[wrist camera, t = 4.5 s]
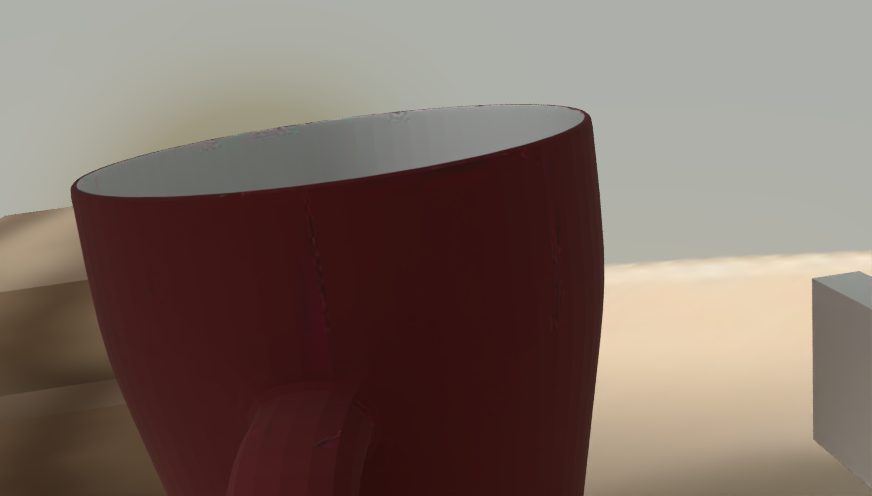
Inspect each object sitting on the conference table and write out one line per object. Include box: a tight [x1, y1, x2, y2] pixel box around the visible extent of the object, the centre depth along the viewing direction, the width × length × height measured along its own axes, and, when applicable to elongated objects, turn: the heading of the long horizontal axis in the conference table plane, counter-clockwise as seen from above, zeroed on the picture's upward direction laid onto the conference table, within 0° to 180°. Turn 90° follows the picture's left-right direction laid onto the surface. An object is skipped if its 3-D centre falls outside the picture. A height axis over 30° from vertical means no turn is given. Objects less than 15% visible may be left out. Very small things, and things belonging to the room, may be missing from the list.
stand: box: [0, 207, 167, 496], centre depth 31 cm, size 18×18×6 cm
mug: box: [71, 104, 604, 496], centre depth 13 cm, size 10×8×10 cm
